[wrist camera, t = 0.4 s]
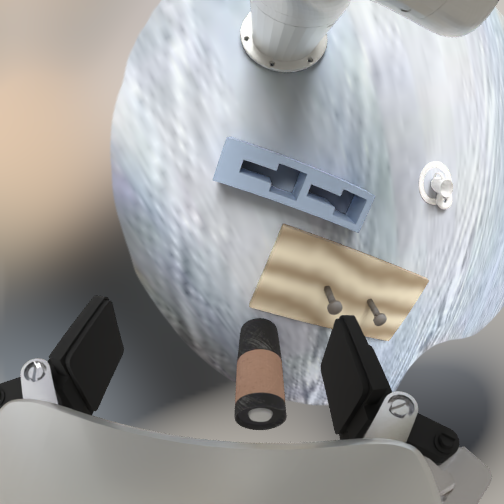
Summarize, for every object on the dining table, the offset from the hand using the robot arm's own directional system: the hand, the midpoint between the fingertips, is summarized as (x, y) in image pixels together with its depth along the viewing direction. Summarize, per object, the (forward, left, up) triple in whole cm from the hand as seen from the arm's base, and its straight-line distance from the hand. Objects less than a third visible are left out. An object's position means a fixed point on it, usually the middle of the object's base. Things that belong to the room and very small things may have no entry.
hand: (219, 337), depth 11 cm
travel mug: (+26, +12, -33) cm, 44 cm away
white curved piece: (-10, +31, -34) cm, 47 cm away
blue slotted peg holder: (-3, +7, -33) cm, 34 cm away
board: (+12, +24, -33) cm, 42 cm away
